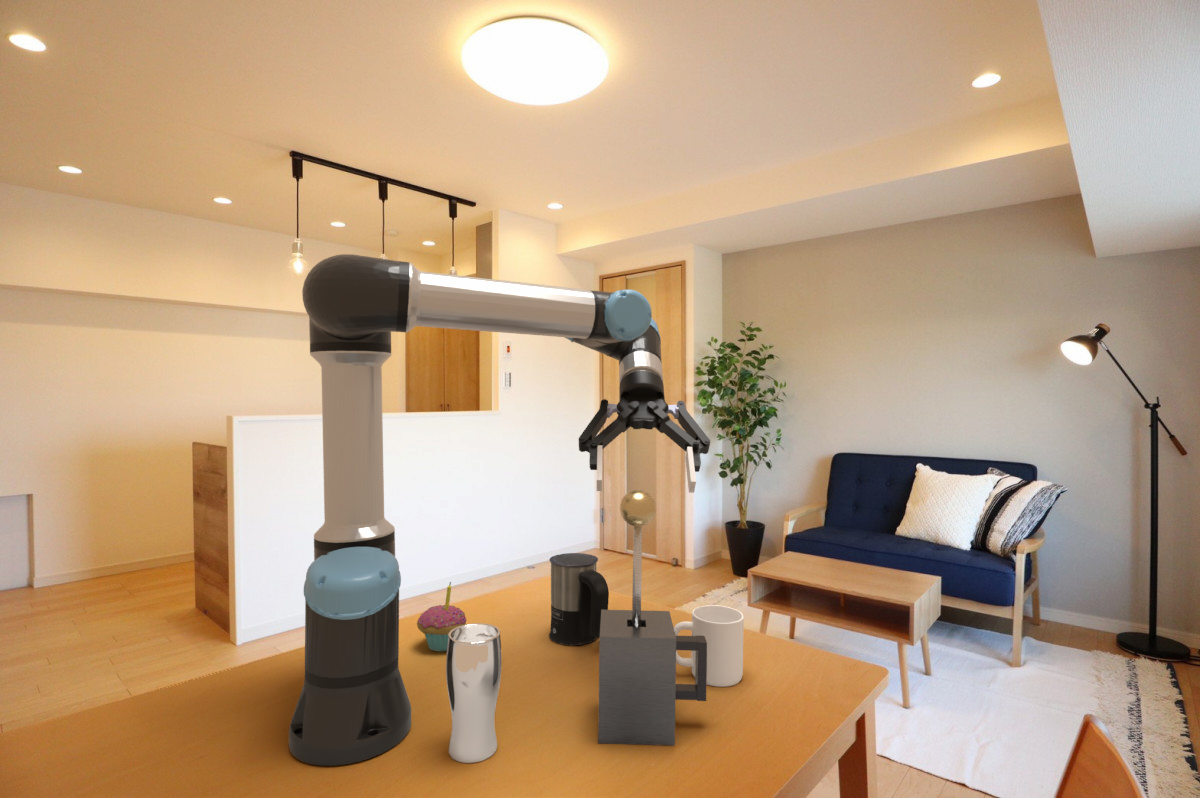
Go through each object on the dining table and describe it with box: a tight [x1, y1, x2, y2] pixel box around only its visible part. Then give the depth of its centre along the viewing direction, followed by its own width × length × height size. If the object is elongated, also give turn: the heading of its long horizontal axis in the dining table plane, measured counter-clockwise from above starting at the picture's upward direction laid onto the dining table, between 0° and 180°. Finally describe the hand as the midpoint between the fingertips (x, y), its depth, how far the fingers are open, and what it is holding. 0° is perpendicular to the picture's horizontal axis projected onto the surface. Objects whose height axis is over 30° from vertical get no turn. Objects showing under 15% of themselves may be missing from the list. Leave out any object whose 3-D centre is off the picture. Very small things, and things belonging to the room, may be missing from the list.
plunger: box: [619, 489, 657, 627], centre depth 84 cm, size 8×8×22 cm
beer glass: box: [445, 622, 503, 764], centre depth 77 cm, size 7×7×15 cm
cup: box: [673, 604, 745, 688], centre depth 99 cm, size 8×12×10 cm
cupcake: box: [416, 581, 467, 652], centre depth 109 cm, size 9×8×12 cm
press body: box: [597, 609, 707, 746], centre depth 84 cm, size 15×10×14 cm
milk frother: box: [548, 552, 610, 646], centre depth 115 cm, size 14×16×15 cm
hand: (645, 486), depth 88 cm, fingers open, 13 cm apart
